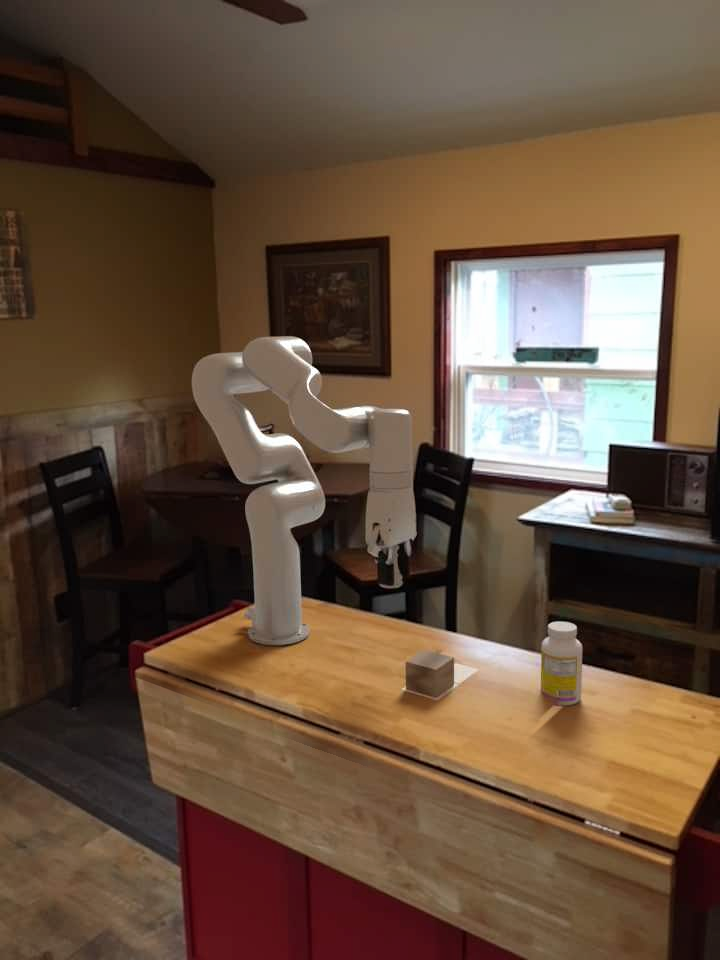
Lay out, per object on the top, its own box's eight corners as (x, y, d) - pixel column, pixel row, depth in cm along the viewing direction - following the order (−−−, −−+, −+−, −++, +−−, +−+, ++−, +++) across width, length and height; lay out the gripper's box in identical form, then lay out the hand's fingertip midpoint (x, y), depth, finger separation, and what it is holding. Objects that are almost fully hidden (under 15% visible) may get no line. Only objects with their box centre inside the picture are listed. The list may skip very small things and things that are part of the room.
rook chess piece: (401, 589, 142) (401, 545, 141) (376, 588, 143) (376, 544, 142) (404, 581, 147) (404, 539, 145) (379, 581, 147) (379, 538, 146)
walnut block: (405, 689, 138) (405, 661, 137) (424, 676, 142) (424, 649, 141) (436, 697, 134) (436, 669, 133) (454, 684, 139) (454, 657, 138)
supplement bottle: (554, 686, 141) (556, 616, 138) (588, 697, 136) (591, 625, 134) (532, 698, 136) (534, 626, 134) (567, 711, 132) (569, 636, 129)
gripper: (399, 471, 150) (401, 566, 153) (345, 486, 136) (349, 590, 140) (434, 474, 146) (436, 571, 149) (382, 490, 132) (385, 597, 135)
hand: (393, 579), depth 144 cm, fingers closed on rook chess piece, 4 cm apart
